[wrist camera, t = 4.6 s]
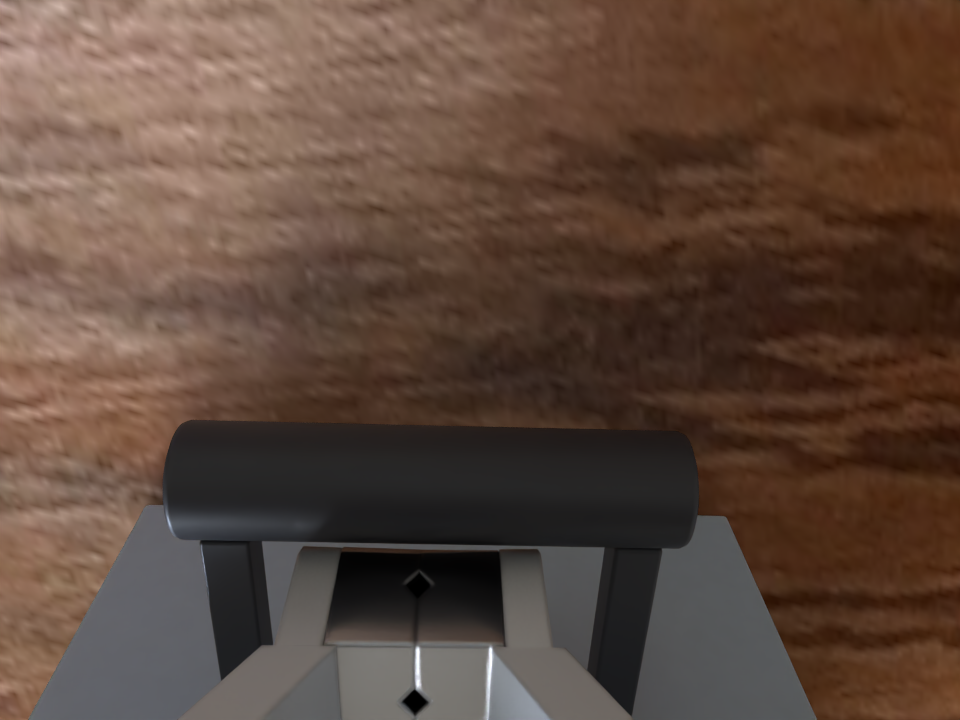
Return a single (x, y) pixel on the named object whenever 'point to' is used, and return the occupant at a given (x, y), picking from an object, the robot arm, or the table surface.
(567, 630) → the drawer
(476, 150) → the table surface
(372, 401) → the table surface
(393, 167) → the table surface
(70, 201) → the table surface
